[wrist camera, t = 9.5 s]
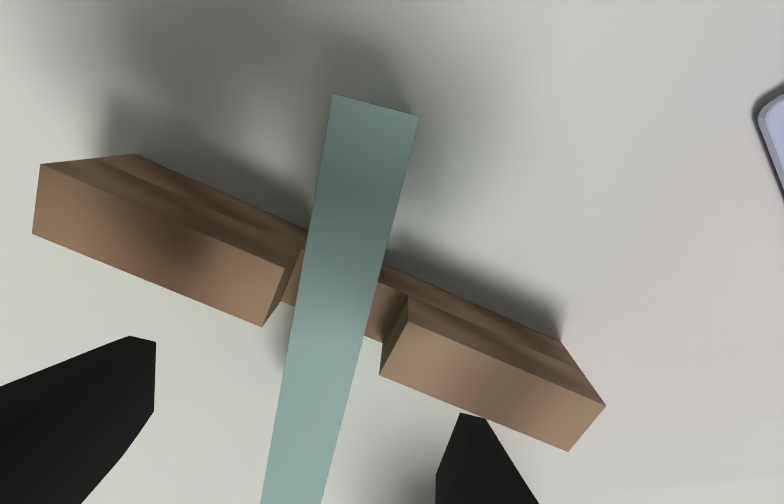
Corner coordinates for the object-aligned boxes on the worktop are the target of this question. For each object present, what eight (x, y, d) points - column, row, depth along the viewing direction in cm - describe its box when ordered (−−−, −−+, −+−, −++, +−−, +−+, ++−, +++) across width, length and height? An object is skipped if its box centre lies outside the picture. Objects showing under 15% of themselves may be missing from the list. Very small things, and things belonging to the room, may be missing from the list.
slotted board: (123, 207, 15) (31, 233, 12) (134, 154, 15) (40, 163, 11) (533, 381, 18) (568, 451, 14) (561, 342, 17) (606, 406, 13)
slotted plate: (363, 106, 14) (332, 93, 8) (414, 120, 14) (419, 116, 8) (303, 396, 18) (257, 518, 13) (342, 405, 18) (313, 530, 13)
